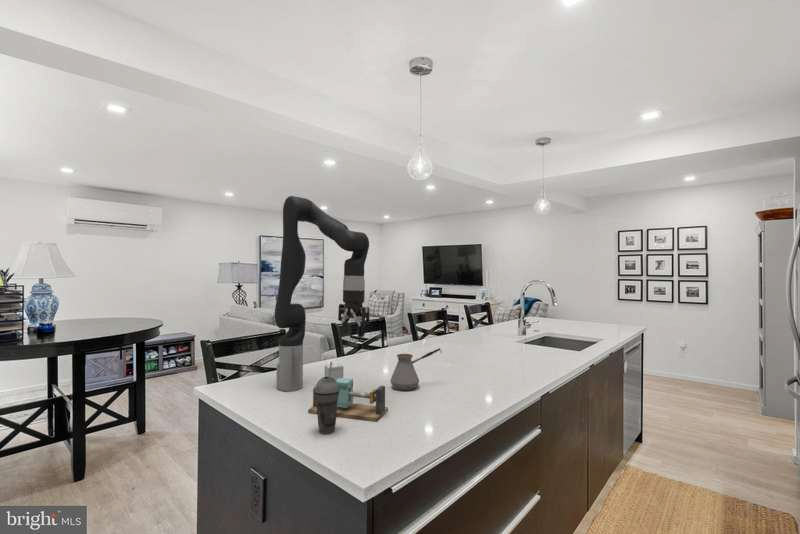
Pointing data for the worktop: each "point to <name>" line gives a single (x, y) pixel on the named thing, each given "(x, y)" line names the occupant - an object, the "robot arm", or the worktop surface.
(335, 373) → the skincare box
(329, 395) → the beverage cup
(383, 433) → the worktop surface
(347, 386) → the sleeve
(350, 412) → the rail stand
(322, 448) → the worktop surface
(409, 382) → the coffee pot
